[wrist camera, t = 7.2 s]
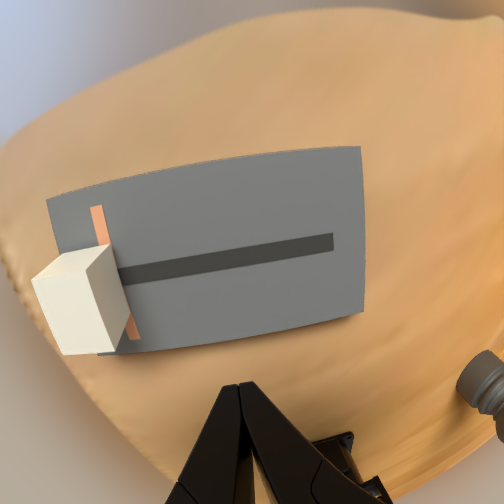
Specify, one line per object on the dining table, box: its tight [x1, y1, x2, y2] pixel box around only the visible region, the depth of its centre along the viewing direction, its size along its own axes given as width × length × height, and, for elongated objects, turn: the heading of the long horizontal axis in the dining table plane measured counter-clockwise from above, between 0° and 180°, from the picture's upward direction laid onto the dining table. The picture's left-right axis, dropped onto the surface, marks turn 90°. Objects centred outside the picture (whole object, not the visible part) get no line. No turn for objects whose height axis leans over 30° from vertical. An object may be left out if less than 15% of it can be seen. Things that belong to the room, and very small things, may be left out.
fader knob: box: [31, 244, 131, 355], centre depth 13 cm, size 4×3×4 cm
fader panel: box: [46, 146, 365, 356], centre depth 17 cm, size 10×17×2 cm, turn 98°
